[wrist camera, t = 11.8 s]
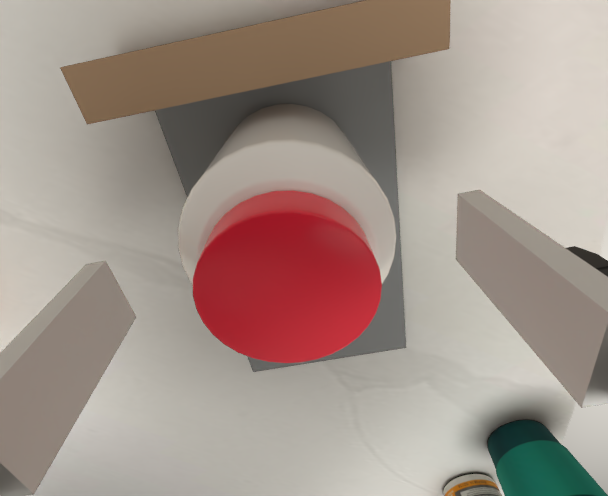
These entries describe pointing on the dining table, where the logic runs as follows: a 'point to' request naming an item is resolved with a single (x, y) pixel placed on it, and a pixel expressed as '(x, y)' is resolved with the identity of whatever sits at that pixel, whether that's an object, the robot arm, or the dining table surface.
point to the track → (280, 100)
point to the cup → (537, 463)
